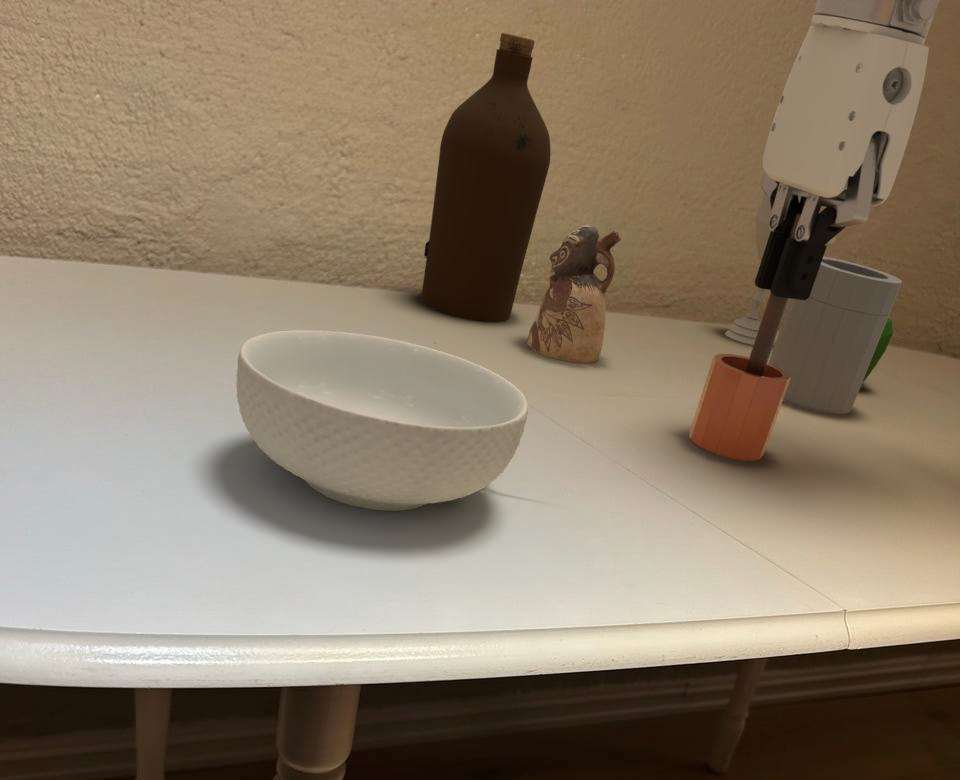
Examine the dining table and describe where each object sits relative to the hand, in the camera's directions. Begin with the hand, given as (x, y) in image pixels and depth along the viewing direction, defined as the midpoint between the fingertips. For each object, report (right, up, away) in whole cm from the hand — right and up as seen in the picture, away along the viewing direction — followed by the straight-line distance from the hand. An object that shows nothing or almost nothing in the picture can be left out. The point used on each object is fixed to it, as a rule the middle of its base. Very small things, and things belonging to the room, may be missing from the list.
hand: (780, 291), depth 78 cm
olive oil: (-24, +8, +30) cm, 39 cm away
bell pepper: (+16, +2, +37) cm, 40 cm away
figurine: (-15, +1, +22) cm, 27 cm away
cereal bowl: (-29, -17, -14) cm, 37 cm away
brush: (-2, -10, +6) cm, 12 cm away
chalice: (+9, +9, +46) cm, 48 cm away
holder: (-3, -11, +6) cm, 13 cm away
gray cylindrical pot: (+10, -2, +26) cm, 28 cm away
